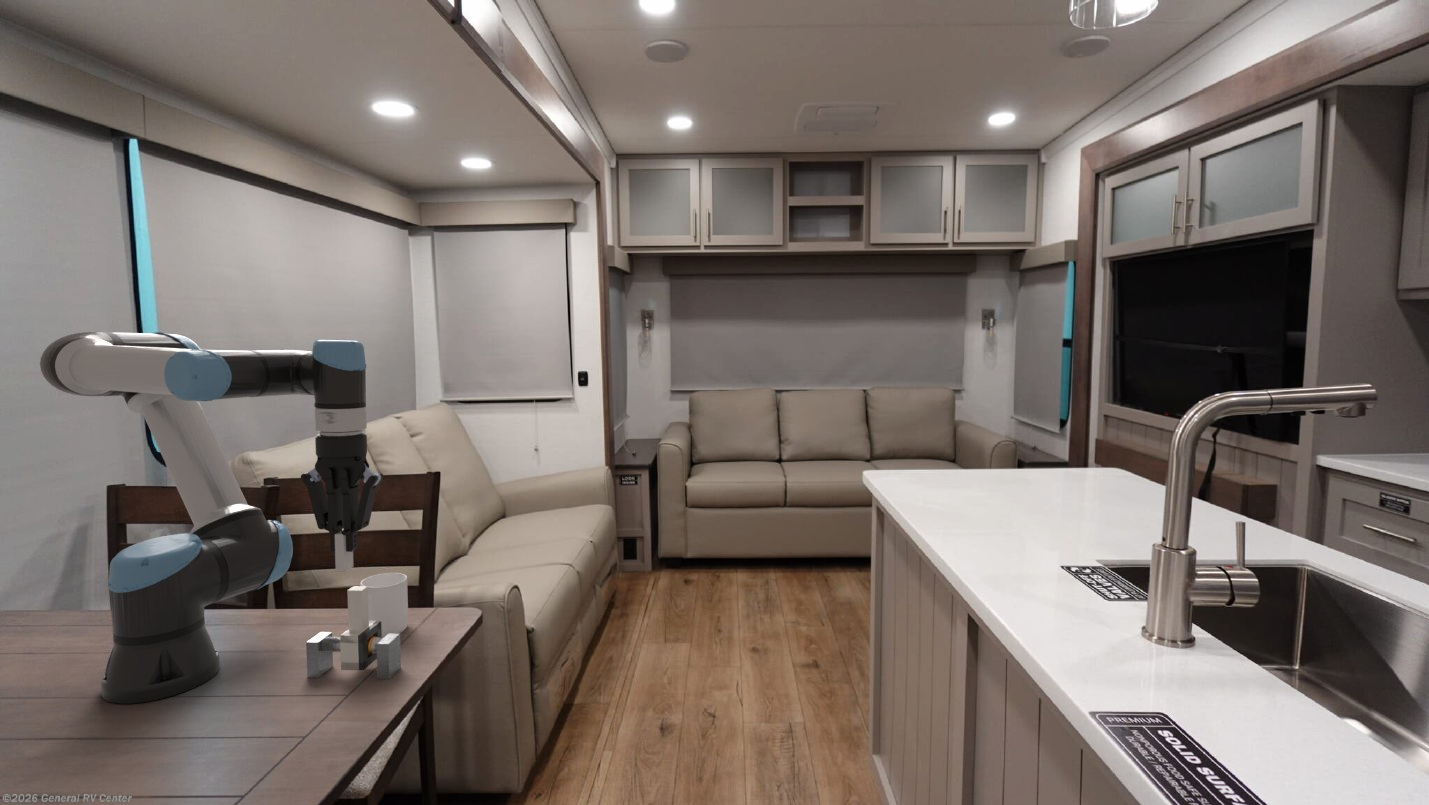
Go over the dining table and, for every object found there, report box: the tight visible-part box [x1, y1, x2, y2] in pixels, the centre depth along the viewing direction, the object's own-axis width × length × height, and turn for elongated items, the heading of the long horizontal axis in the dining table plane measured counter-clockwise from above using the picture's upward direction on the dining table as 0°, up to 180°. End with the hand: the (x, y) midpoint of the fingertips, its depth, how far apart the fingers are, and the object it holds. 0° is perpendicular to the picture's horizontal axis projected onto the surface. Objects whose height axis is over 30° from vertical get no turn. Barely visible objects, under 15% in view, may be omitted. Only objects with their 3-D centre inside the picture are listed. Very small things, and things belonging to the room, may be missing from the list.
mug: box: [359, 572, 409, 638], centre depth 128 cm, size 12×8×10 cm
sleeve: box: [339, 585, 382, 671], centre depth 113 cm, size 4×6×13 cm, turn 179°
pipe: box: [305, 631, 402, 680], centre depth 113 cm, size 14×4×6 cm, turn 89°
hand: (344, 569), depth 112 cm, fingers closed
